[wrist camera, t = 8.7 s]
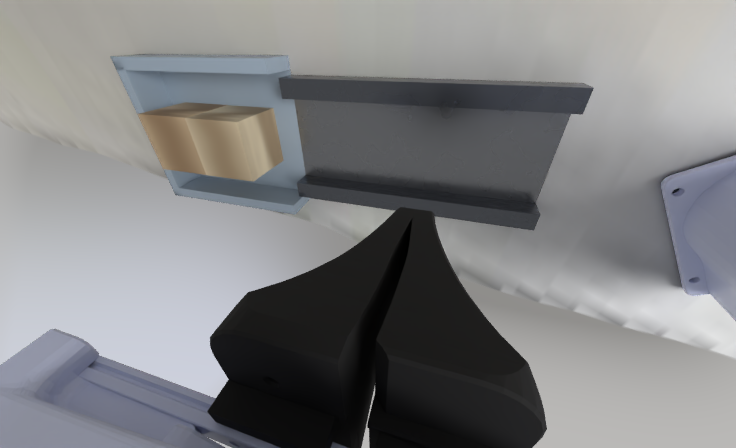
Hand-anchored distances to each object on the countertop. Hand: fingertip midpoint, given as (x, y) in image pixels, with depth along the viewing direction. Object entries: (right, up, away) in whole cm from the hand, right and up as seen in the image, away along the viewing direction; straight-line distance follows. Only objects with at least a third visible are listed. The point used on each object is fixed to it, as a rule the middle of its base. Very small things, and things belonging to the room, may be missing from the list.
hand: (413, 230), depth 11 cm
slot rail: (+1, +5, +8) cm, 10 cm away
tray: (-13, +8, +11) cm, 19 cm away
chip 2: (-11, +7, +11) cm, 17 cm away
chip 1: (-14, +8, +12) cm, 20 cm away
